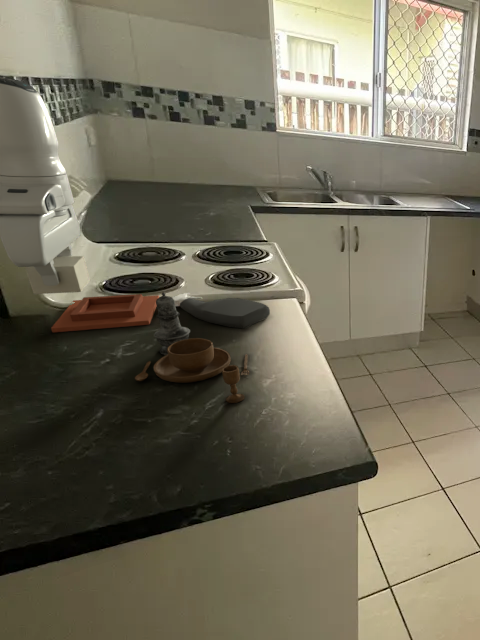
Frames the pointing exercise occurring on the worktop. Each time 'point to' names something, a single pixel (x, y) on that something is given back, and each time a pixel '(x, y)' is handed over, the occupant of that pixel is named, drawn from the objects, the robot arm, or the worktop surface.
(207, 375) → the place setting
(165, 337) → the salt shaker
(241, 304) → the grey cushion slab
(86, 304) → the base pad
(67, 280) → the beige block
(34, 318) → the worktop surface
